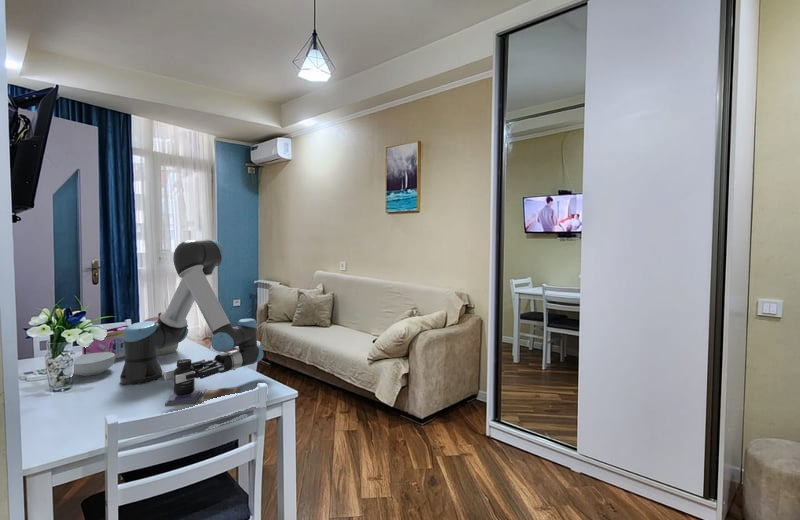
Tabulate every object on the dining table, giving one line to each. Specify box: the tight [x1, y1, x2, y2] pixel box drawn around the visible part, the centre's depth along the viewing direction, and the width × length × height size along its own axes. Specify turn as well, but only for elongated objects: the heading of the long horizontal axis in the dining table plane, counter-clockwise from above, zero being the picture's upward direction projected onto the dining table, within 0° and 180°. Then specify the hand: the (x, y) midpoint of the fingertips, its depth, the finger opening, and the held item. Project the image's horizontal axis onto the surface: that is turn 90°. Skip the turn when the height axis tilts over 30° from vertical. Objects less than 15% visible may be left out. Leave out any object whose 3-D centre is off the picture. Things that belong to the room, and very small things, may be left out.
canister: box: [144, 311, 179, 356], centre depth 213 cm, size 18×18×21 cm
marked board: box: [196, 386, 240, 405], centre depth 157 cm, size 12×12×1 cm
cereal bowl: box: [73, 352, 116, 377], centre depth 181 cm, size 17×17×7 cm
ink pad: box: [164, 389, 203, 407], centre depth 153 cm, size 10×10×2 cm
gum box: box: [81, 325, 129, 359], centre depth 204 cm, size 24×8×14 cm, turn 162°
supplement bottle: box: [173, 358, 196, 395], centre depth 153 cm, size 7×7×12 cm
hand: (170, 377), depth 148 cm, fingers closed on supplement bottle, 7 cm apart
